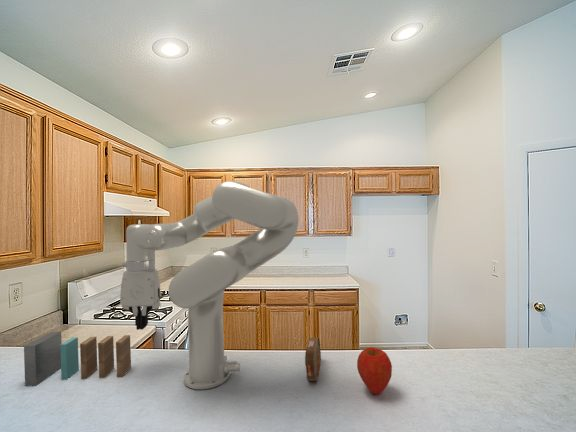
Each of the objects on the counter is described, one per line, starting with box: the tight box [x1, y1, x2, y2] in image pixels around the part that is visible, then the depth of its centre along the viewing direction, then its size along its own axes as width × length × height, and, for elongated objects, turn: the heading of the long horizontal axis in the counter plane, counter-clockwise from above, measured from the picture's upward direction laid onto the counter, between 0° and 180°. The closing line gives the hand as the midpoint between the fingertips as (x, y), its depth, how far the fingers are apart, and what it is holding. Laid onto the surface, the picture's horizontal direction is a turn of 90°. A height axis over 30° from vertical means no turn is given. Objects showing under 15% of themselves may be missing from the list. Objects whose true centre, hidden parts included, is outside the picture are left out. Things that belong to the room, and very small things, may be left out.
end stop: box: [23, 331, 63, 387], centre depth 88 cm, size 3×10×11 cm, turn 2°
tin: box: [304, 336, 322, 382], centre depth 85 cm, size 15×3×8 cm, turn 168°
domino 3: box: [97, 335, 115, 379], centre depth 88 cm, size 2×5×10 cm, turn 2°
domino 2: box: [79, 336, 98, 380], centre depth 88 cm, size 2×5×10 cm, turn 2°
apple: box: [356, 347, 393, 395], centre depth 75 cm, size 9×8×11 cm
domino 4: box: [115, 334, 132, 378], centre depth 88 cm, size 2×5×10 cm, turn 2°
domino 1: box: [60, 336, 80, 381], centre depth 88 cm, size 2×5×10 cm, turn 2°
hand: (141, 327), depth 89 cm, fingers closed
